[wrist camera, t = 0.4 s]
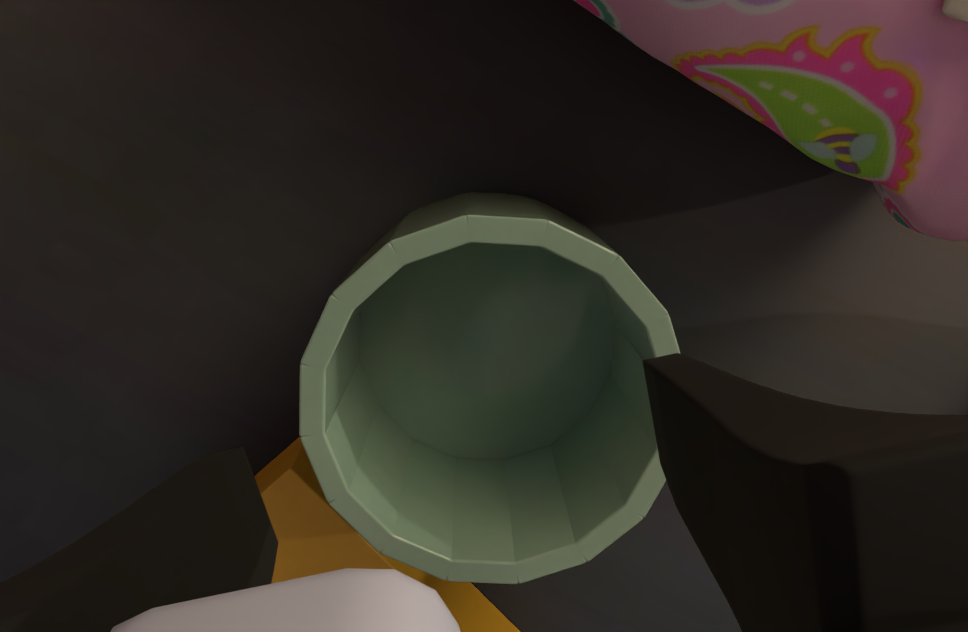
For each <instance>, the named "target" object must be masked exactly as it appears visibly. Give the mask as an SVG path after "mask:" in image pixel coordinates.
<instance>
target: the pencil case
mask: <svg viewBox="0 0 968 632" xmlns="http://www.w3.org/2000/svg"><path fill="white" fill-rule="evenodd" d="M574 1H575V2H577V3H578V4H579V5H581V6H582V7H584V8H585V9H587V10H588V11H590V12H591V13H592V14H594V15H595V16H597V17H598V18H600V19H601V20H603V21H604V22H605V23H607V24H608V25H609V26H611V27H612V28H613V29H615V30H616V31H617V32H619V33H620V34H621V35H623V36H624V37H625V38H626V39H628V40H629V41H631V42H632V43H633V44H635V45H636V46H638V47H639V48H641V49H642V50H643V51H645V52H646V53H648V54H649V55H651V56H652V57H654V58H656V59H657V60H659V61H661V62H663V63H665V64H666V65H668V66H670V67H672V68H674V69H675V70H677V71H679V72H680V73H681V74H683V75H684V76H686V77H687V78H689V79H690V80H692V81H693V82H695V83H696V84H698V85H700V86H702V87H703V88H705V89H707V90H709V91H710V92H712V93H714V94H715V95H717V96H719V97H720V98H722V99H723V100H725V101H726V102H728V103H730V104H731V105H733V106H734V107H736V108H738V109H739V110H741V111H742V112H744V113H746V114H747V115H749V116H751V117H752V118H754V119H755V120H757V121H759V122H760V123H762V124H764V125H765V126H767V127H768V128H770V129H771V130H772V131H774V132H775V133H777V134H778V135H779V136H781V137H782V138H784V139H785V140H786V141H788V142H789V143H791V144H792V145H793V146H795V147H796V148H797V149H799V150H800V151H801V152H803V153H804V154H805V155H807V156H808V157H810V158H811V159H813V160H815V161H817V162H819V163H821V164H823V165H825V166H827V167H830V168H832V169H834V170H836V171H838V172H841V173H844V174H847V175H851V176H854V177H857V178H861V179H864V180H867V181H871V182H872V183H873V185H874V188H875V189H876V191H877V193H878V195H879V197H880V199H881V201H882V202H883V204H884V206H885V207H886V209H887V211H888V212H889V213H890V214H891V215H892V216H893V217H894V218H895V219H896V220H897V221H898V222H900V223H901V224H903V225H904V226H906V227H908V228H910V229H912V230H915V231H917V232H919V233H922V234H925V235H928V236H931V237H935V238H940V239H946V240H951V241H968V0H574Z"/></svg>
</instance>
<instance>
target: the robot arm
mask: <svg viewBox="0 0 968 632" xmlns="http://www.w3.org/2000/svg"><path fill="white" fill-rule="evenodd" d="M642 362H643V368H644V374H645V379H646V385H647V391H648V396H649V402H650V408H651V414H652V419H653V425H654V431H655V436H656V442H657V448H658V454H659V459H660V464H661V467H662V470H663V472H664V475H665V478H666V481H667V483H668V486H669V489H670V491H671V494H672V497H673V499H674V502H675V504H676V507H677V509H678V511H679V513H680V515H681V517H682V519H683V520H684V522H685V524H686V526H687V528H688V530H689V532H690V533H691V535H692V537H693V539H694V541H695V543H696V544H697V546H698V548H699V550H700V552H701V554H702V555H703V557H704V559H705V561H706V563H707V564H708V566H709V568H710V570H711V572H712V574H713V575H714V577H715V579H716V581H717V583H718V584H719V586H720V588H721V590H722V592H723V594H724V595H725V597H726V599H727V601H728V603H729V605H730V607H731V609H732V611H733V613H734V615H735V617H736V619H737V621H738V623H739V625H740V628H741V630H742V632H968V415H925V414H905V413H890V412H882V411H873V410H864V409H856V408H849V407H843V406H837V405H832V404H827V403H823V402H818V401H813V400H809V399H804V398H800V397H796V396H793V395H789V394H785V393H782V392H779V391H776V390H773V389H770V388H767V387H763V386H760V385H758V384H755V383H752V382H749V381H747V380H744V379H741V378H739V377H736V376H734V375H731V374H729V373H726V372H724V371H722V370H719V369H717V368H714V367H712V366H710V365H707V364H705V363H703V362H700V361H698V360H696V359H693V358H691V357H688V356H686V355H683V354H680V353H674V354H670V355H665V356H661V357H656V358H651V359H647V360H642ZM277 549H278V540H277V537H276V534H275V532H274V529H273V526H272V524H271V521H270V518H269V515H268V513H267V510H266V507H265V504H264V502H263V499H262V496H261V494H260V491H259V488H258V485H257V483H256V480H255V477H254V475H253V472H252V469H251V466H250V464H249V461H248V458H247V455H246V453H245V450H244V447H239V448H234V449H230V450H225V451H220V452H216V453H211V454H209V455H207V456H204V457H202V458H200V459H198V460H197V461H195V462H193V463H192V464H190V465H188V466H187V467H185V468H184V469H182V470H181V471H179V472H178V473H176V474H175V475H173V476H172V477H170V478H169V479H167V480H166V481H164V482H163V483H161V484H160V485H159V486H157V487H156V488H154V489H153V490H151V491H150V492H149V493H147V494H146V495H144V496H143V497H141V498H140V499H139V500H137V501H136V502H134V503H133V504H131V505H130V506H129V507H127V508H126V509H124V510H123V511H121V512H120V513H118V514H117V515H115V516H114V517H112V518H111V519H109V520H108V521H106V522H105V523H103V524H102V525H100V526H99V527H97V528H95V529H94V530H92V531H91V532H89V533H88V534H86V535H85V536H83V537H82V538H80V539H79V540H77V541H76V542H74V543H72V544H71V545H69V546H67V547H66V548H64V549H62V550H61V551H59V552H57V553H56V554H54V555H52V556H51V557H49V558H47V559H45V560H43V561H42V562H40V563H38V564H36V565H34V566H33V567H31V568H29V569H27V570H25V571H24V572H22V573H20V574H18V575H16V576H14V577H12V578H10V579H8V580H6V581H4V582H2V583H0V632H461V631H460V628H459V625H458V623H457V622H456V620H455V618H454V617H453V615H452V614H451V612H450V611H449V609H448V608H447V606H446V605H445V603H444V602H443V600H442V599H441V597H440V596H439V594H438V593H437V591H436V590H434V589H432V588H430V587H428V586H426V585H424V584H422V583H420V582H418V581H417V580H415V579H413V578H411V577H409V576H407V575H405V574H403V573H401V572H399V571H397V570H395V569H354V568H345V569H341V570H336V571H331V572H326V573H321V574H316V575H311V576H306V577H302V578H297V579H292V580H287V581H282V582H277V583H272V584H271V582H272V577H273V572H274V567H275V561H276V555H277Z"/></svg>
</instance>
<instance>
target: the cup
mask: <svg viewBox="0 0 968 632" xmlns="http://www.w3.org/2000/svg"><path fill="white" fill-rule="evenodd" d="M674 353H680V349H679V346H678V342H677V339H676V336H675V332H674V329H673V325H672V322H671V319H670V316H669V314H668V311H667V310H666V309H665V308H664V307H663V305H662V304H661V303H660V302H659V301H658V299H657V298H656V297H655V296H654V295H653V294H652V292H651V291H650V290H649V289H648V288H647V287H646V285H645V284H644V283H643V282H642V281H641V279H640V278H639V277H638V276H637V275H636V274H635V272H634V271H633V270H632V269H631V268H630V267H629V265H628V264H627V263H626V262H625V261H624V259H623V258H622V257H621V256H620V255H619V254H617V253H616V252H615V251H614V250H613V249H612V248H610V247H609V246H608V245H607V244H606V243H604V242H603V241H602V240H601V239H600V238H599V237H597V236H596V235H595V234H594V233H593V232H591V231H590V230H589V229H588V228H587V227H585V226H584V225H583V224H582V223H580V222H579V221H577V220H575V219H573V218H571V217H569V216H567V215H565V214H563V213H561V212H559V211H558V210H556V209H554V208H553V207H550V206H548V205H545V204H543V203H541V202H539V201H537V200H535V199H533V198H531V197H527V196H522V195H511V194H503V193H472V192H468V193H463V194H460V195H457V196H454V197H450V198H446V199H443V200H439V201H437V202H434V203H432V204H429V205H427V206H425V207H422V208H420V209H417V210H414V211H411V212H410V213H409V214H407V215H406V216H405V217H404V218H402V219H401V220H400V221H399V222H398V223H397V224H396V225H395V226H393V227H392V228H391V229H390V230H388V232H387V233H386V234H385V235H384V236H383V237H381V238H380V239H379V240H378V241H377V242H376V243H375V244H374V245H373V246H372V247H370V248H369V249H368V250H367V251H366V252H365V254H364V255H363V256H362V257H361V258H360V260H359V261H358V262H357V263H356V265H355V266H354V267H353V268H352V269H351V271H350V272H349V273H348V274H347V275H346V277H345V278H344V279H343V280H342V281H341V283H340V284H339V285H338V286H337V288H336V289H335V290H334V291H333V293H332V294H331V295H330V296H329V299H328V301H327V303H326V305H325V307H324V310H323V312H322V314H321V316H320V318H319V321H318V323H317V325H316V327H315V329H314V332H313V334H312V336H311V338H310V341H309V343H308V345H307V347H306V349H305V352H304V354H303V356H302V358H301V360H300V363H301V364H300V366H299V435H300V440H301V442H302V445H303V447H304V449H305V452H306V454H307V456H308V459H309V461H310V463H311V466H312V468H313V470H314V473H315V475H316V477H317V480H318V482H319V484H320V487H321V489H322V491H323V494H324V496H325V498H326V500H327V501H328V502H329V505H330V506H331V507H332V508H333V509H334V510H335V511H336V512H337V513H338V514H339V515H340V516H341V517H342V518H343V519H344V520H345V521H347V522H348V523H349V524H350V525H351V526H352V527H353V528H354V529H355V530H356V531H357V532H358V533H359V534H360V535H361V536H362V537H363V538H364V539H365V540H366V541H367V542H368V543H369V544H370V545H371V546H372V547H373V548H374V549H375V550H376V551H377V552H380V553H381V554H382V555H385V556H387V557H390V558H392V559H394V560H397V561H399V562H401V563H404V564H406V565H409V566H411V567H413V568H416V569H418V570H420V571H423V572H425V573H428V574H430V575H432V576H435V577H437V578H439V579H442V580H447V581H453V582H476V583H499V584H517V583H524V582H527V581H530V580H533V579H537V578H540V577H543V576H546V575H549V574H552V573H556V572H559V571H562V570H565V569H568V568H571V567H574V566H578V565H581V564H584V563H586V561H590V560H591V559H593V558H594V557H595V556H596V555H598V554H599V553H600V552H602V551H603V550H604V549H605V548H607V547H608V546H609V545H610V544H612V543H613V542H614V541H616V540H617V539H618V538H619V537H621V536H622V535H623V534H624V533H626V532H627V531H628V530H630V529H631V528H632V527H633V526H635V525H636V524H637V523H638V522H640V521H641V520H642V519H643V517H645V516H646V514H647V512H648V511H649V509H650V507H651V506H652V504H653V502H654V501H655V499H656V497H657V495H658V494H659V492H660V490H661V489H662V487H663V485H664V483H665V482H666V478H665V475H664V472H663V470H662V467H661V464H660V459H659V454H658V448H657V442H656V436H655V431H654V425H653V419H652V414H651V408H650V402H649V396H648V391H647V385H646V379H645V374H644V368H643V362H642V360H647V359H651V358H656V357H661V356H665V355H670V354H674ZM680 354H681V353H680Z"/></svg>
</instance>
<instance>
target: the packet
mask: <svg viewBox="0 0 968 632" xmlns="http://www.w3.org/2000/svg"><path fill="white" fill-rule="evenodd" d="M254 477H255V480H256V483H257V485H258V488H259V491H260V494H261V496H262V499H263V502H264V504H265V507H266V510H267V513H268V515H269V518H270V521H271V524H272V526H273V529H274V532H275V534H276V537H277V540H278V549H277V555H276V561H275V567H274V572H273V577H272V582H271V584H272V583H277V582H282V581H287V580H292V579H297V578H302V577H306V576H311V575H316V574H321V573H326V572H331V571H336V570H341V569H345V568H354V569H395V570H397V571H399V572H401V573H403V574H405V575H407V576H409V577H411V578H413V579H415V580H417V581H418V582H420V583H422V584H424V585H426V586H428V587H430V588H432V589H434V590H436V591H437V593H438V594H439V596H440V597H441V599H442V600H443V602H444V603H445V605H446V606H447V608H448V609H449V611H450V612H451V614H452V615H453V617H454V618H455V620H456V622H457V623H458V625H459V628H460V631H461V632H520V631H519V630H518V629H517V628H516V627H515V626H514V625H513V624H512V623H511V622H510V621H509V620H508V619H507V618H506V617H505V616H504V615H503V614H502V613H501V612H500V611H499V610H498V609H497V608H496V607H495V606H494V605H493V604H492V603H491V602H490V601H489V600H488V599H487V598H486V597H485V596H484V595H483V594H482V593H481V592H480V591H479V590H478V589H477V588H476V587H475V586H474V585H473V584H472V583H471V582H453V581H447V580H442V579H439V578H437V577H435V576H432V575H430V574H428V573H425V572H423V571H420V570H418V569H416V568H413V567H411V566H409V565H406V564H404V563H401V562H399V561H397V560H394V559H392V558H390V557H387V556H385V555H382V554H381V553H380V552H377V551H376V550H375V549H374V548H373V547H372V546H371V545H370V544H369V543H368V542H367V541H366V540H365V539H364V538H363V537H362V536H361V535H360V534H359V533H358V532H357V531H356V530H355V529H354V528H353V527H352V526H351V525H350V524H349V523H348V522H347V521H345V520H344V519H343V518H342V517H341V516H340V515H339V514H338V513H337V512H336V511H335V510H334V509H333V508H332V507H331V506H330V505H329V502H328V501H327V500H326V498H325V496H324V494H323V491H322V489H321V487H320V484H319V482H318V480H317V477H316V475H315V473H314V470H313V468H312V466H311V463H310V461H309V459H308V456H307V454H306V452H305V449H304V447H303V445H302V442H301V440H300V437H299V438H298V439H296V440H295V441H294V442H293V443H292V444H291V445H289V446H288V447H287V448H286V449H285V450H284V451H283V452H281V453H280V454H279V455H278V456H277V457H276V458H275V459H273V460H272V461H271V462H270V463H269V464H268V465H267V466H265V467H264V468H263V469H262V470H261V471H260V472H259V473H257V474H256V475H255V476H254Z"/></svg>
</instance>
